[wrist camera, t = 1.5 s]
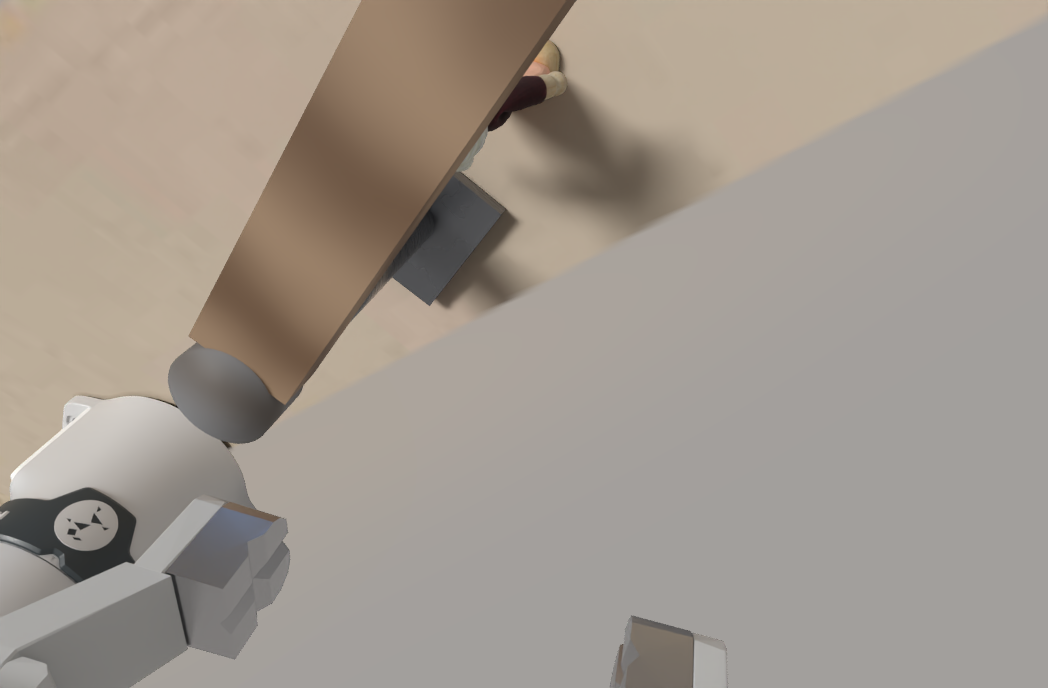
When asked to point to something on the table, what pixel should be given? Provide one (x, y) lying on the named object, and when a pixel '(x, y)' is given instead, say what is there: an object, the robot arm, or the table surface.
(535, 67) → the grandmother figurine
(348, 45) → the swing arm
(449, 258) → the arm post
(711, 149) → the table surface
